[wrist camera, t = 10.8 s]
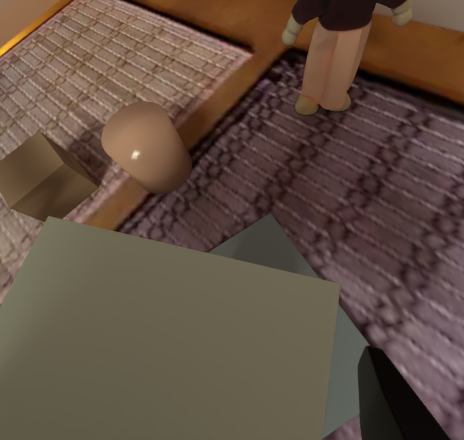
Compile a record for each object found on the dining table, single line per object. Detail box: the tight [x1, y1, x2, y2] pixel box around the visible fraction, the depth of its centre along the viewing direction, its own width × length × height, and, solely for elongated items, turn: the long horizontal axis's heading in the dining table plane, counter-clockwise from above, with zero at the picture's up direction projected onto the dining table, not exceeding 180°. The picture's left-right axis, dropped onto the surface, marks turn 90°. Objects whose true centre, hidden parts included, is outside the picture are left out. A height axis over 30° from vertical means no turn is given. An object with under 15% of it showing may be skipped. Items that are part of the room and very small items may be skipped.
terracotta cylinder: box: [101, 102, 192, 194], centre depth 19 cm, size 5×5×5 cm
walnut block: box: [0, 131, 99, 222], centre depth 21 cm, size 5×5×4 cm
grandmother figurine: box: [282, 0, 413, 115], centre depth 15 cm, size 8×4×13 cm, turn 98°
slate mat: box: [208, 213, 370, 439], centre depth 15 cm, size 12×12×1 cm
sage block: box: [0, 216, 340, 440], centre depth 9 cm, size 5×5×13 cm
